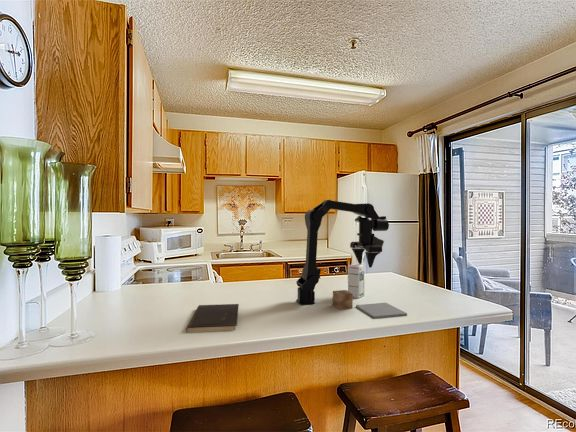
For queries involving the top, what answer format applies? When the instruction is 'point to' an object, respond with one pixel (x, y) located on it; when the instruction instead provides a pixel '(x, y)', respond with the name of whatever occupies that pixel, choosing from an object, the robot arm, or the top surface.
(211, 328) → the hardcover book
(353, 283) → the syrup box
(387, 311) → the trivet
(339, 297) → the walnut cube
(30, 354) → the top surface
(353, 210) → the robot arm
